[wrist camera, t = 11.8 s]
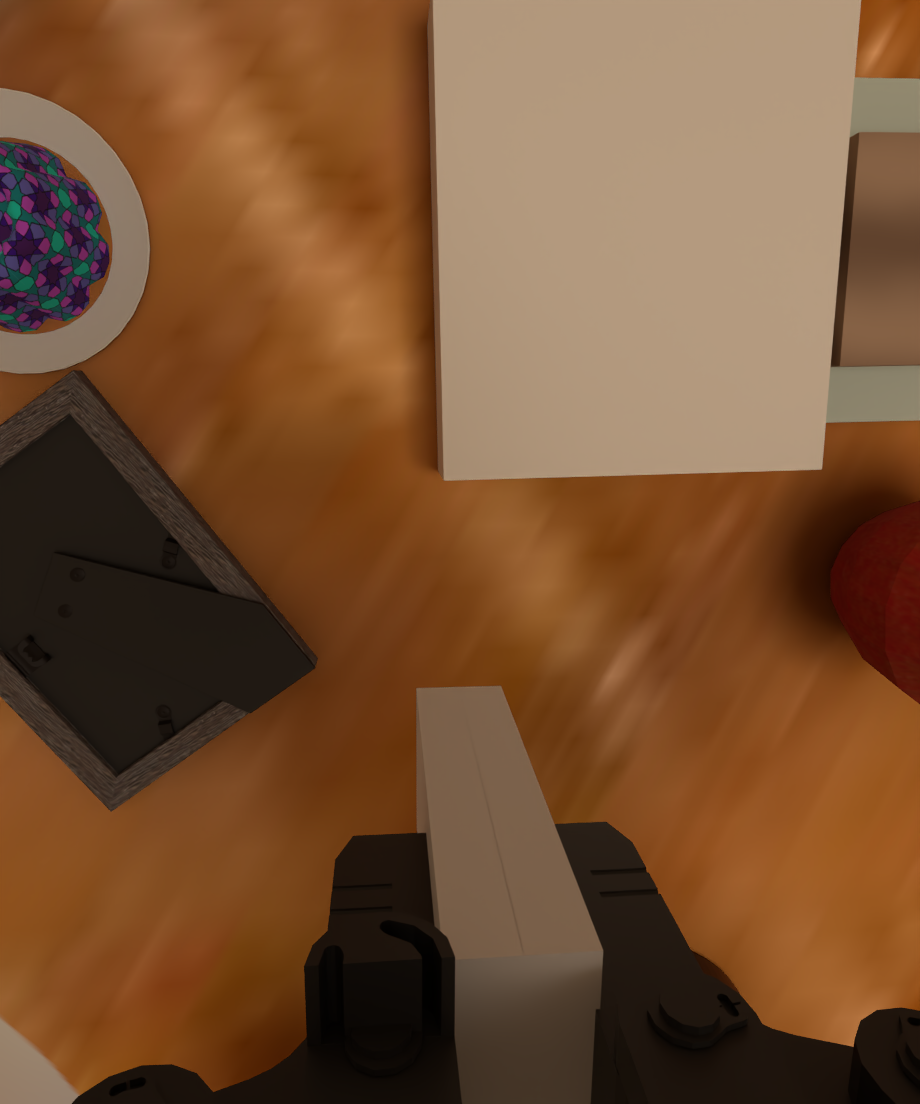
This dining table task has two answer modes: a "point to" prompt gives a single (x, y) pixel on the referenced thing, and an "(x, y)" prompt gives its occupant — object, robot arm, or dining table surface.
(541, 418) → the cream flat block
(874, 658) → the dark red rounded piece
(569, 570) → the dining table surface
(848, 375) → the mat
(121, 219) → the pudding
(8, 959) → the dining table surface
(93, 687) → the picture frame
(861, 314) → the walnut block
